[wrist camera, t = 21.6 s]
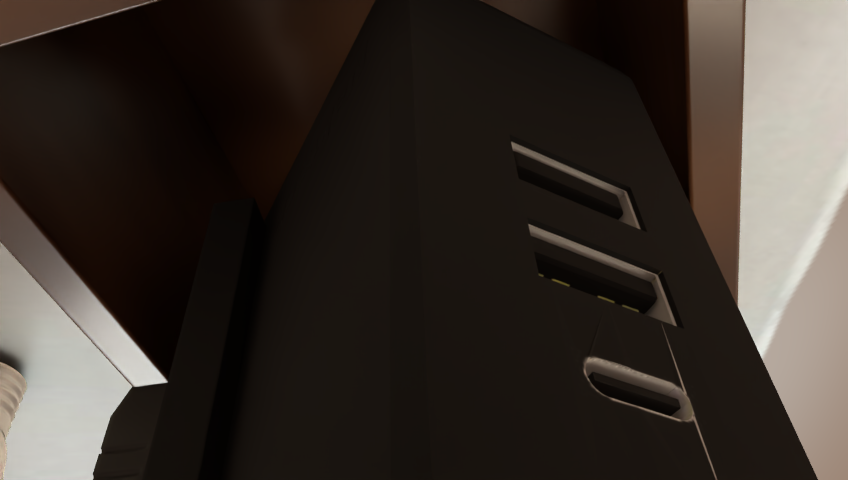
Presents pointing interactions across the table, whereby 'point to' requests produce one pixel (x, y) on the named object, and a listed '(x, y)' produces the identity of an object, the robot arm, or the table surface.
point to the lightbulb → (8, 405)
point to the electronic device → (493, 280)
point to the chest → (271, 132)
